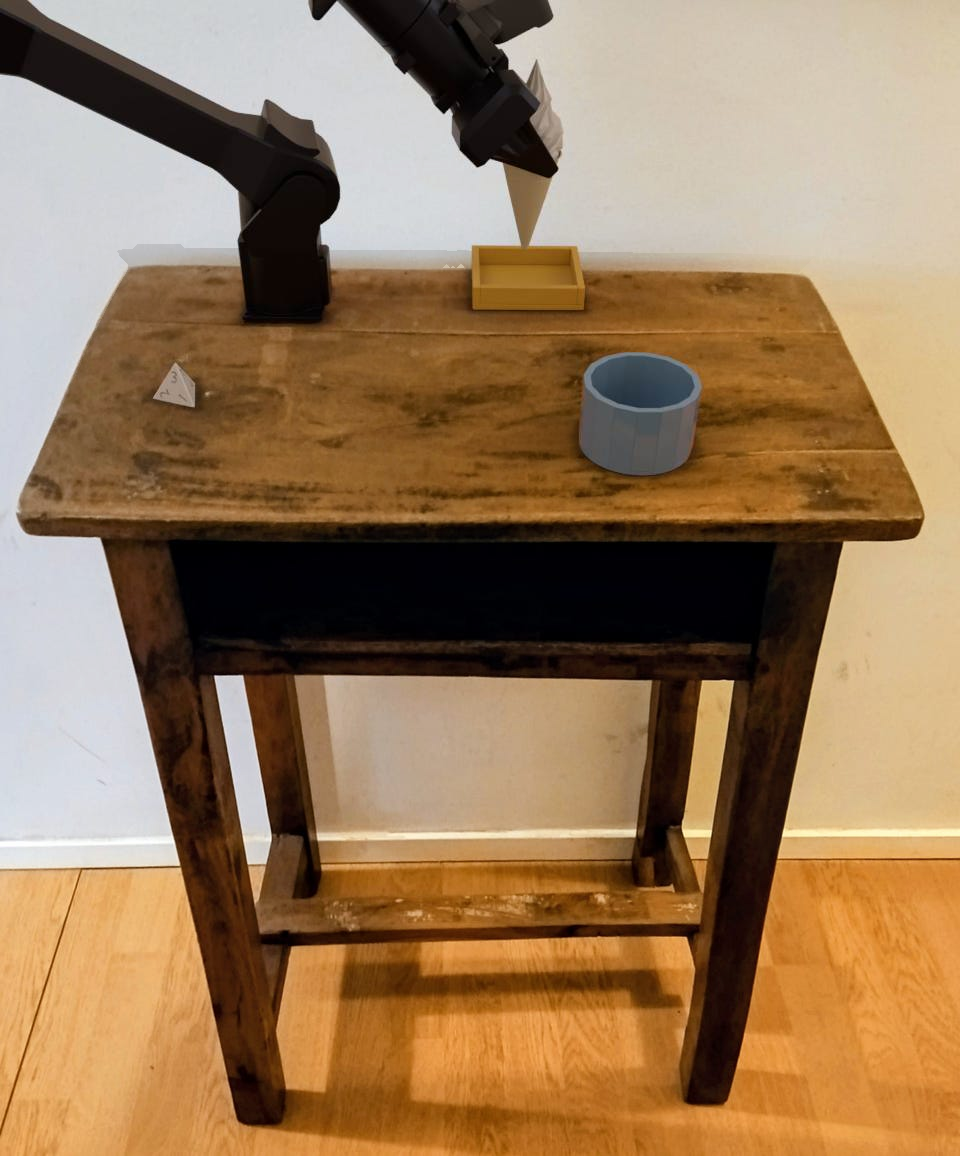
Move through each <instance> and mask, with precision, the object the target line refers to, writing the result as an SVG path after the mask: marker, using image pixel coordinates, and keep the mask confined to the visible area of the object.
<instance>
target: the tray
mask: <svg viewBox="0 0 960 1156" xmlns="http://www.w3.org/2000/svg"><path fill="white" fill-rule="evenodd" d="M585 285H586V284H585V280H584V276H583V270H582V265H581V260H580V255H579V249H578V246H577V245H529V246H528V249H527V250H523V249H522V247H521V245H484V244H483V245H482V244H481V245H480V244H479V245H477V244H476V245H475V244H473V245H471V297H472V298H471V301H472V302H471V303H472V304H471V305H472V310H477V311H478V310H479V311H481V310H483V311H485V310H487V311H488V310H490V311H492V310H493V311H495V310H496V311H498V310H499V311H515V310H516V311H584V309H585V307H584V306H585V296H586V286H585Z"/></svg>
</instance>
